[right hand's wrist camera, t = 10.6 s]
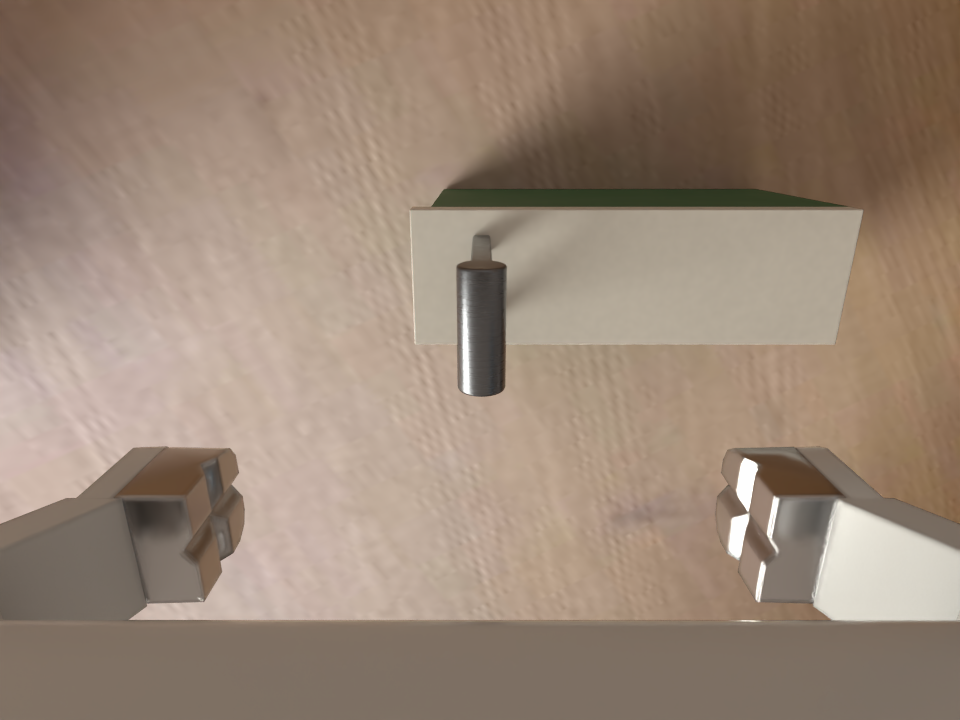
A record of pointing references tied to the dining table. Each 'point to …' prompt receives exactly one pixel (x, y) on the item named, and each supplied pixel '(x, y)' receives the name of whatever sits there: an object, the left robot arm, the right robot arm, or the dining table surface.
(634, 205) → the chest
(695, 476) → the dining table surface
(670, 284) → the door
